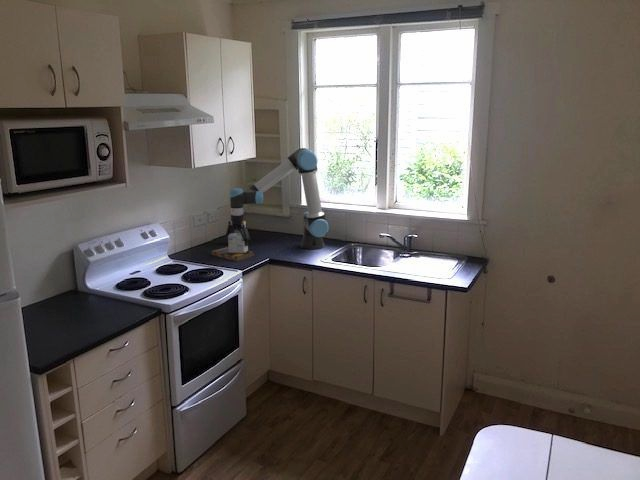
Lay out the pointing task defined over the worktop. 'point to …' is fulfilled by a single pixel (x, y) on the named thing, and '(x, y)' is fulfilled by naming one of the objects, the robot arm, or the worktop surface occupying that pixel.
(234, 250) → the light bulb box
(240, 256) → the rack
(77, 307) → the worktop surface
